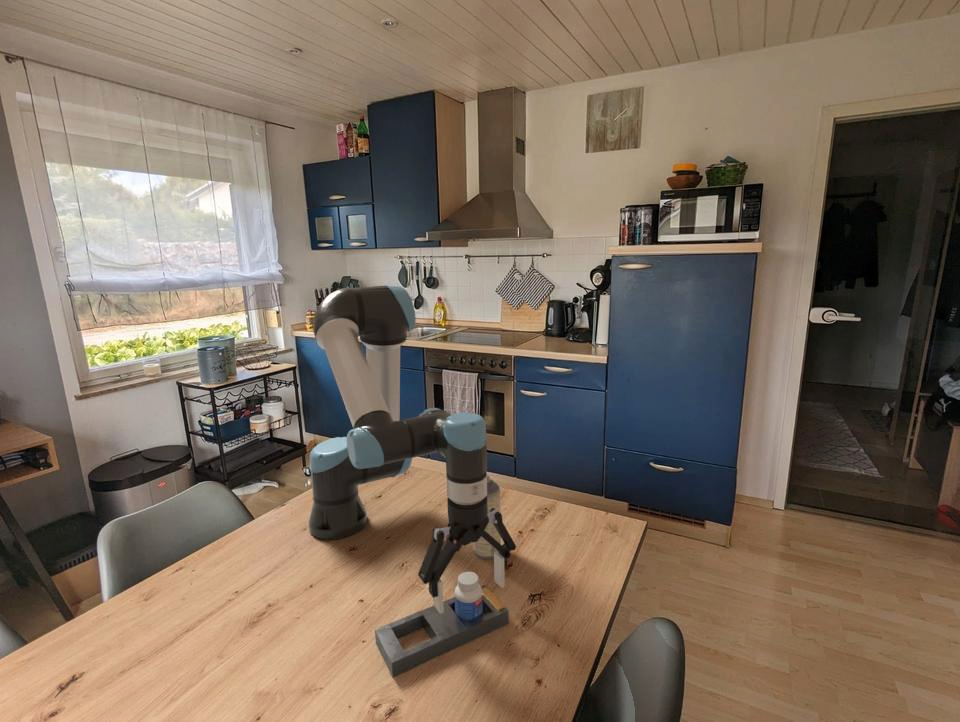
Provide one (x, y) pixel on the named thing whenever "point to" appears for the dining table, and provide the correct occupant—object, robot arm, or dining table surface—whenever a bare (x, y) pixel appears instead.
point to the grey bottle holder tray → (437, 632)
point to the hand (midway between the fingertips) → (470, 596)
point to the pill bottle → (468, 598)
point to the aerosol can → (482, 546)
